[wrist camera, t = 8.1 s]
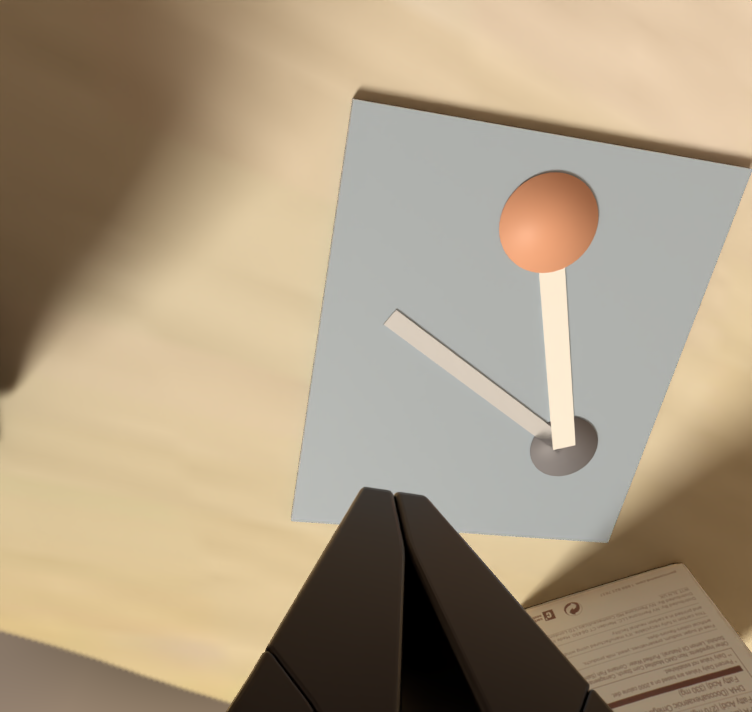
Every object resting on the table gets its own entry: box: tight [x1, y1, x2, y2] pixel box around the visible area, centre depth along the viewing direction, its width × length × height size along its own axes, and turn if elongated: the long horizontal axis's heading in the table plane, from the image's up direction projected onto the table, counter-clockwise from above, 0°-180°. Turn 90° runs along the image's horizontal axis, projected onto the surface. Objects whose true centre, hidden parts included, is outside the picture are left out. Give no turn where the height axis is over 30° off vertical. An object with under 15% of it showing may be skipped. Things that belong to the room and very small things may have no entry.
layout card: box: [291, 98, 752, 543], centre depth 22 cm, size 12×14×1 cm
